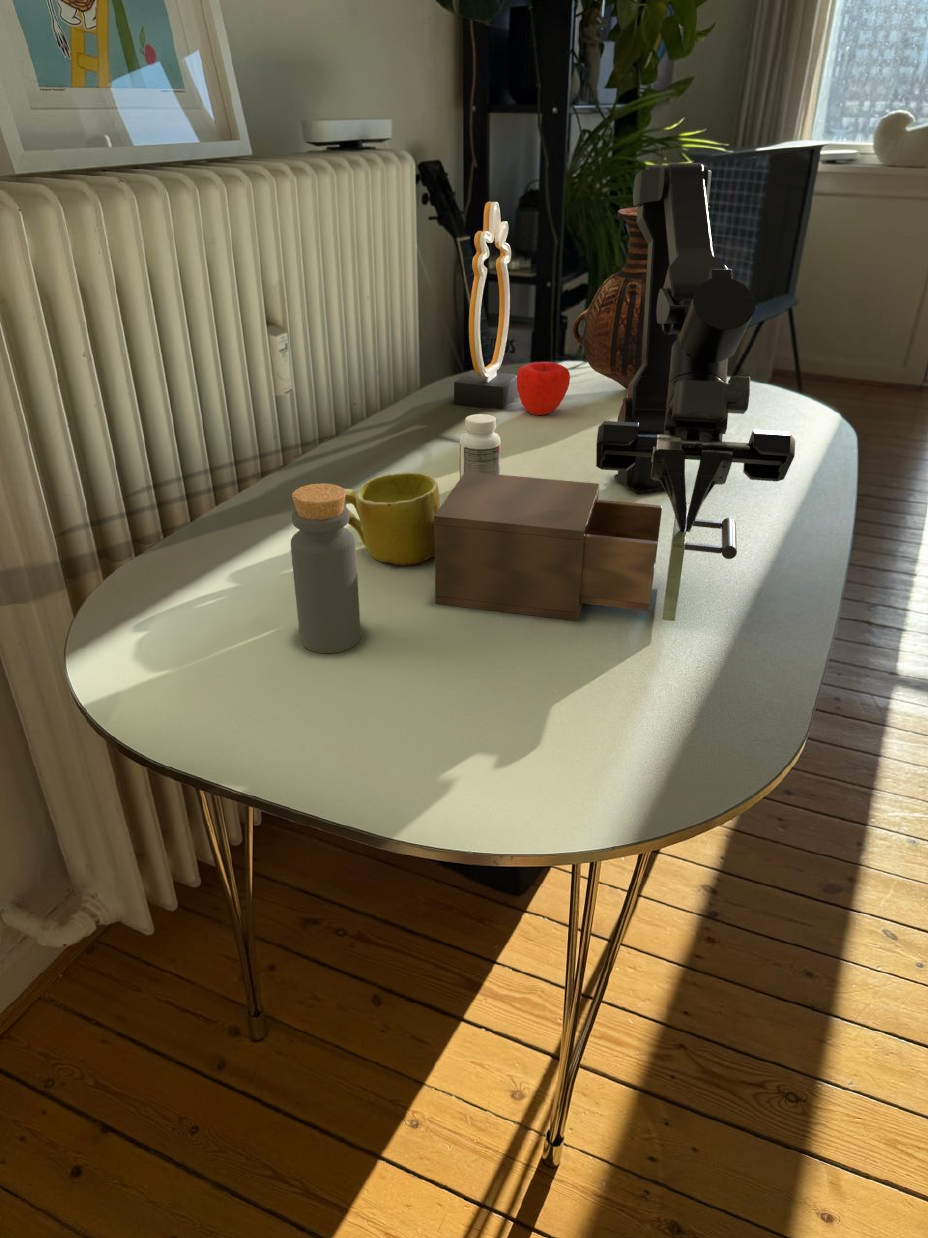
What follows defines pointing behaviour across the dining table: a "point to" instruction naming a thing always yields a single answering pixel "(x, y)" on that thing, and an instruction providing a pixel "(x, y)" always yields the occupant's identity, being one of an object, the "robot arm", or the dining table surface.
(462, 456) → the pill bottle
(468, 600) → the cabinet
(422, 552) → the mug
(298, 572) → the bottle
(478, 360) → the white statuette
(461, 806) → the dining table surface
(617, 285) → the vase
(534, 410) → the apple
